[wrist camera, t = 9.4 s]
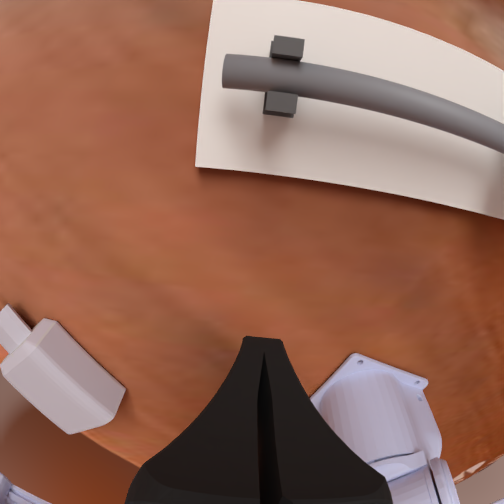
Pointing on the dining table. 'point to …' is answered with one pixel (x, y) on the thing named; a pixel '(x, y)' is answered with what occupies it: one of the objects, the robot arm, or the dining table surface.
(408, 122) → the white slide rail base
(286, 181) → the dining table surface
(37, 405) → the charger
